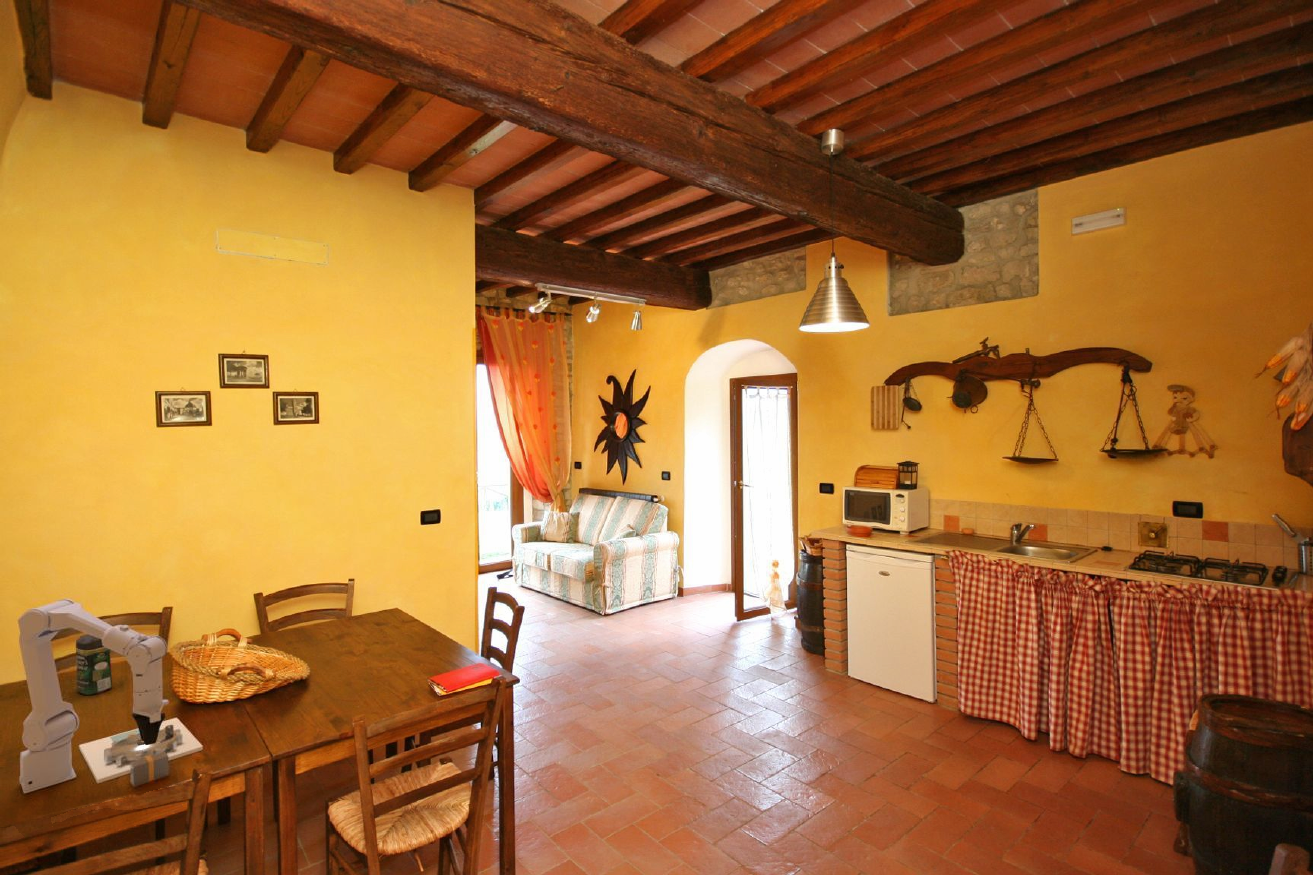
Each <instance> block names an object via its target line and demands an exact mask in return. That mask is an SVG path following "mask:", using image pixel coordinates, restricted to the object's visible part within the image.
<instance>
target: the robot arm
mask: <svg viewBox="0 0 1313 875" xmlns="http://www.w3.org/2000/svg"><path fill="white" fill-rule="evenodd" d="M17 623H18V628H19V637H18V644H19V648H20V653H21V658H22V663H23V667H24V668H23V669H24V674H25V678H26V683H27V688H28V689H27V690H28V693H29V698H30V702H31V703H30V704H31V708H32V710H31V712H29V714H28V715H27V717H26V718H25V720H24V721H23V723H22V725H23V726H22V727H23V732H22V735H21V741H22V744H23V746H25V747H26V749H27V750H24V751H21V752H20V754H19V755H20V756H19V763H20V764H19V769H20V770H19V772H20V775H19V778H18V779H19V784H20V786H21V789H22V792H23V794H27V793H32V792H35V791H38V790H40V789H45V788H48V787H50V786H54V785H57V784H60V783H63V782H67V781H71V780H73V779H76V778H77V774H76V773H75V770H74V768H73V766H72V764H73V763H72V762H73V760H72V738H73V737H74V732H75V731H77V729H78V728H79V725H80V717H79V716H78V714H77V713H76V712H75V710H74V706H73V704H72V703H70V702H67V701H64V700H63V696H62V693H61V688H60V687H61V686H60V681H59V676H58V673H57V671H58V670H57V667H56V660H55V657H54V652H53V647H52V639H53V638H54V637H55V636H56V635H57V634H58V633H59V632H60V631H61V630H64V629H74V630H77V631H80V632H82V633H84V634H86V635H87V634H89V635H92V636H94V637H97V638H100V639H102V645H103V646H104V647H106V648H108V649H110V651H113V652H115V653H118V654H120V655H122V656H124V657H125V659H126V661H127V663H128V664H129V666H130V671H131V673H132V682H133V683H132V684H133V685H132V686H133V687H132V688H133V689H132V690H133V693H132V694H133V695H132V696H133V707H132V712H133V713H132V714H131V716H132V718H133V719H134V722H135V723H136V726H137V729H139V732H140V736H141V739H142V741H144V743H145V745H146V746H147V745H150V744H154V743H156V741H157V737H158V733H159V729H160V726H161V724H162V722H163V721H165V718H166V714H165V712H161V711H162V710H163V707H164V706H166V705H168V704H169V700H168V699H164V698H163V657H164V656H165V655H166V653H167V651H168V644H167V641H166V640H165V639H164V638H162V637H161V636H160V635H152V636H149V635H146V634H144V633H140V632H138V631H136V630H133V629H131V628H130V625H127V624H124V625H123V624H118V625H113V626H112V625H111V624H110V623H107V622H106V621H104V620H102V619H100V618H98V617H97V616H95V615H93V614H92V613H90V612H88V611H86V610H84V609H83V606H82V604H81V603H78V602H75V601H74V600H73V599H71V598H63V599H60V600H58V601H54V602H52V603H48V604H45V605H41V606H39V607H36V608H35V607H33V608H30V609H28V610H26V611H25V612H24V613H22V615H21V616H20V617H19V618H18V619H17Z"/></svg>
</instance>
